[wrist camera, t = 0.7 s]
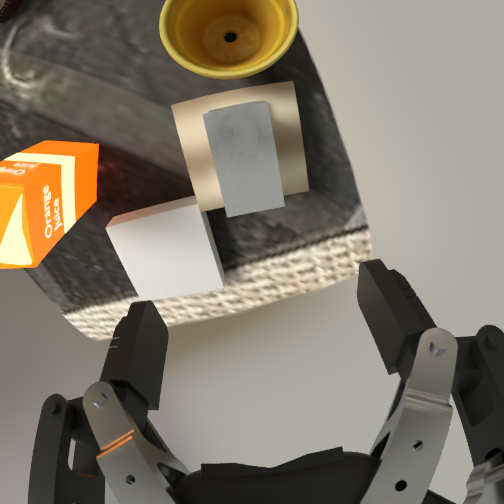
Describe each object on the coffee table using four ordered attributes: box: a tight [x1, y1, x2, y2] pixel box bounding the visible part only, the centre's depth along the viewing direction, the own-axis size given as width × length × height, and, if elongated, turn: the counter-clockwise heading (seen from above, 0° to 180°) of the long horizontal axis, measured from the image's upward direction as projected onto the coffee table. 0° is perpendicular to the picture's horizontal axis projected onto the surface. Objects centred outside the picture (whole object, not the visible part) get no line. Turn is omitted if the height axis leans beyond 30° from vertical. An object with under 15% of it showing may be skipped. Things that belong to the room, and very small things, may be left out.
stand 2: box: [171, 81, 309, 212], centre depth 27 cm, size 12×12×3 cm
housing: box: [202, 100, 285, 217], centre depth 24 cm, size 9×5×6 cm, turn 11°
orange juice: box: [0, 141, 99, 269], centre depth 20 cm, size 8×9×20 cm
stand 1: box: [106, 196, 225, 301], centre depth 34 cm, size 12×12×3 cm
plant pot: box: [159, 0, 299, 79], centre depth 18 cm, size 10×10×10 cm
